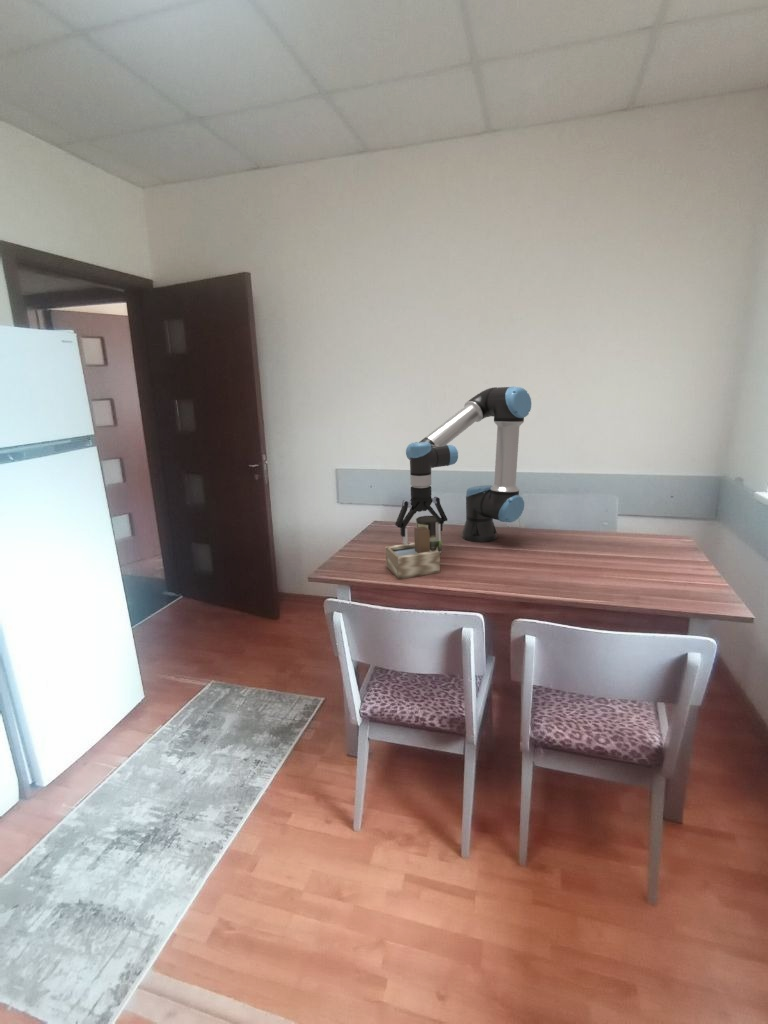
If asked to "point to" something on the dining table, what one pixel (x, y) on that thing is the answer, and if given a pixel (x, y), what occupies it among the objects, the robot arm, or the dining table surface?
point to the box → (412, 562)
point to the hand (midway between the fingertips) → (421, 542)
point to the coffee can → (431, 525)
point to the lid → (418, 542)
